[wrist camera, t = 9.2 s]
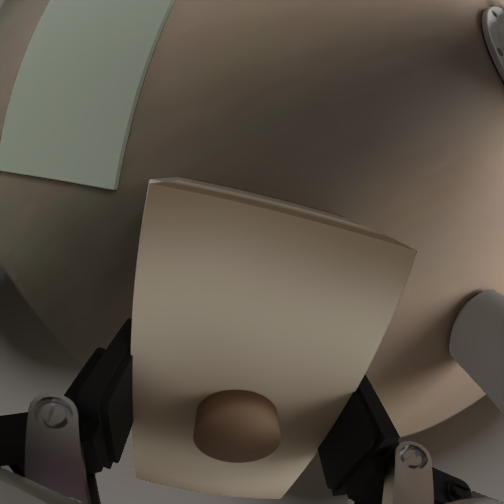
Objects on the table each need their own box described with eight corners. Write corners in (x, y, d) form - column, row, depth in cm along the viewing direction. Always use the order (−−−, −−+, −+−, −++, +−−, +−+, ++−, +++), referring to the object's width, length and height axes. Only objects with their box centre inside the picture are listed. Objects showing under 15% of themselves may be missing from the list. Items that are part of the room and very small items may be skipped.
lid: (178, 180, 9) (132, 185, 5) (370, 228, 9) (439, 262, 5) (149, 432, 12) (132, 494, 8) (274, 453, 12) (282, 515, 8)
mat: (57, -6, 11) (54, -8, 11) (185, -20, 12) (183, -25, 12) (0, 169, 15) (-4, 170, 15) (117, 189, 16) (113, 189, 16)
